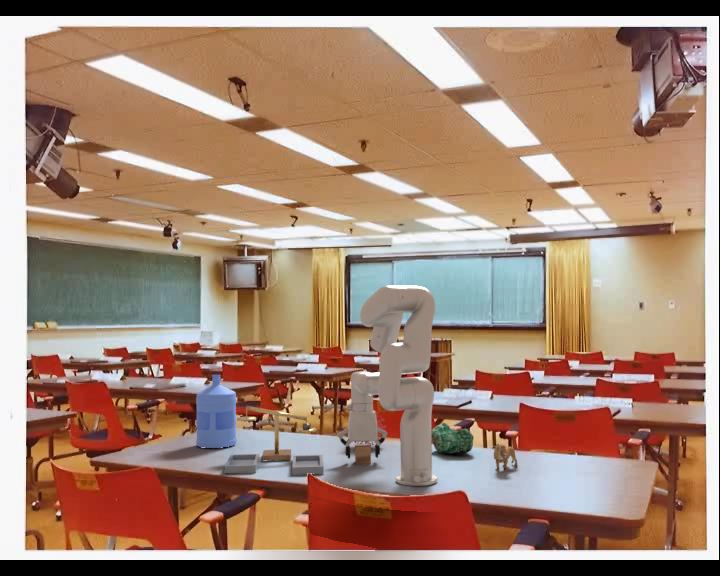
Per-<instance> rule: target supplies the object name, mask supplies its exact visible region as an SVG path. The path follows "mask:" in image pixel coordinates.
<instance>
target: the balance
mask: <svg viewBox="0 0 720 576" xmlns="http://www.w3.org/2000/svg"><path fill="white" fill-rule="evenodd" d="M248 411H252V412H257V413H263V414H267V415H273V416H274V449H264V450H263V452H262V453H261V454H262V455H261V461H262V460H291V459H292V449H291V448H290V449H288V448H287V449H286V448H285V449H280V417H285V418H288V419H294V420H301V421H305V422H304V423H303V422H302V427H300V428H297V429H296V432H297V433H307V434H308V433H315V432H317V428H316V427H312V423H310V422H308V417H307V416H303V415H299V414H293V413H287V412H283V411H282V412H281V411H279V410H278V409H276V410H275V409H274V410H271V409H268V408H267V409H266V408H262V407H261V408H260V407H256V406H251V405H246V407H245V416H240V417H236V422H251V421H252V422H253V421H256V420H257V417H256V416H248Z"/></svg>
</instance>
